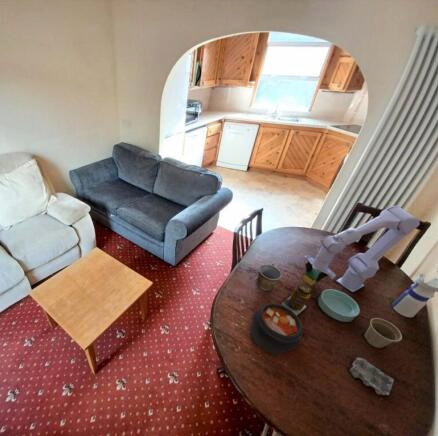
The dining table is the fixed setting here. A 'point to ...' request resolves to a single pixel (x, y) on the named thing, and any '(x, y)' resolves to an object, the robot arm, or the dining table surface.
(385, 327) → the flower pot
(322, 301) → the bowl
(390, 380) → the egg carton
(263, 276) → the ceramic cup
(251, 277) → the dining table surface
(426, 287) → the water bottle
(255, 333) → the casserole
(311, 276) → the sponge
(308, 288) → the condiment
